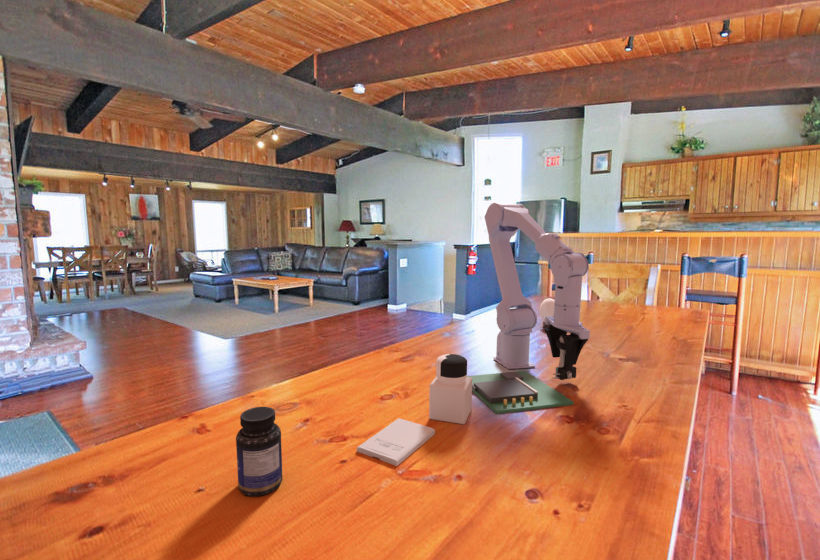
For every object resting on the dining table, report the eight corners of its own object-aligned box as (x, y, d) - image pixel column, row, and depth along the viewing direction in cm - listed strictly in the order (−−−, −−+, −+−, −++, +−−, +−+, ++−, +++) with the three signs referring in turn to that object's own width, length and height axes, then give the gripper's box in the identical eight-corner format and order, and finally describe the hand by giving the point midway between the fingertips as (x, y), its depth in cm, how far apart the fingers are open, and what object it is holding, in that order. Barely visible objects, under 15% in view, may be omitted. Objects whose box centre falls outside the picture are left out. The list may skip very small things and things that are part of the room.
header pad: (473, 387, 98) (473, 381, 98) (516, 383, 101) (517, 377, 101) (490, 403, 89) (491, 396, 89) (537, 398, 92) (537, 391, 92)
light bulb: (540, 329, 156) (541, 299, 155) (537, 325, 163) (539, 296, 161) (559, 330, 155) (561, 300, 153) (556, 325, 162) (557, 297, 160)
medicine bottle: (471, 410, 88) (473, 353, 86) (464, 425, 81) (466, 364, 80) (438, 405, 90) (439, 349, 89) (428, 419, 83) (429, 360, 82)
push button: (561, 384, 99) (564, 342, 97) (544, 376, 103) (547, 336, 102) (581, 379, 102) (585, 339, 100) (564, 372, 106) (567, 333, 105)
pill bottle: (245, 473, 65) (242, 404, 64) (286, 471, 66) (284, 403, 64) (232, 499, 59) (228, 423, 57) (277, 497, 59) (274, 422, 58)
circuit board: (459, 379, 105) (459, 372, 105) (524, 373, 110) (525, 366, 110) (496, 413, 86) (496, 405, 86) (573, 404, 91) (574, 396, 90)
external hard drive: (435, 437, 78) (397, 469, 67) (397, 425, 82) (356, 454, 72) (435, 428, 78) (397, 459, 67) (397, 417, 82) (356, 445, 71)
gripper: (603, 310, 94) (598, 369, 96) (563, 298, 108) (560, 350, 110) (575, 311, 92) (571, 371, 94) (538, 299, 106) (536, 352, 108)
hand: (563, 360), depth 102 cm, fingers closed on push button, 5 cm apart
